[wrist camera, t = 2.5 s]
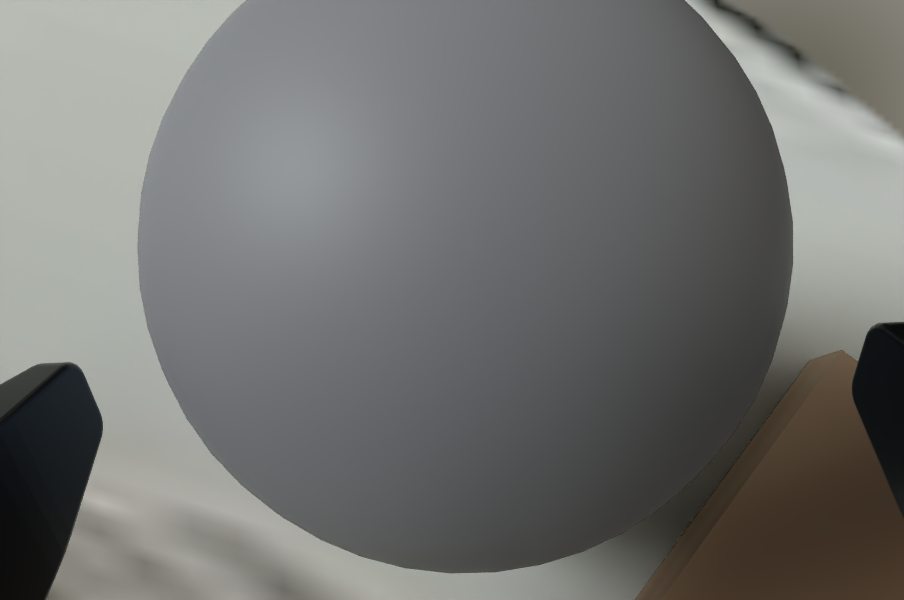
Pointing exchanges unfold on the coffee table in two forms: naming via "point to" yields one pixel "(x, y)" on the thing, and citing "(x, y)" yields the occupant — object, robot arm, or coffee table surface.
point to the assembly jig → (796, 509)
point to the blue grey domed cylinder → (465, 266)
